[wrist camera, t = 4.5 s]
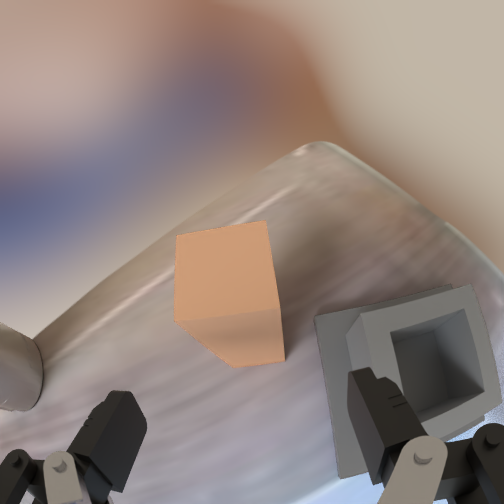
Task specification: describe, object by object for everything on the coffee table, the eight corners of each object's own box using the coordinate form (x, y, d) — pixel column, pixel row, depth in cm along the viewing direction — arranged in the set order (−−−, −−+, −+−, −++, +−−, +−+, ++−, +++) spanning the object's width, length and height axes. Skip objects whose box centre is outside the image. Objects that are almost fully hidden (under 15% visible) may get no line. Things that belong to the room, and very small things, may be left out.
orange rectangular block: (285, 361, 20) (280, 307, 10) (233, 367, 20) (174, 321, 10) (277, 313, 22) (265, 220, 12) (228, 320, 22) (176, 235, 12)
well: (478, 420, 14) (521, 415, 9) (338, 476, 15) (355, 498, 10) (446, 288, 21) (478, 254, 16) (313, 319, 22) (321, 289, 16)
